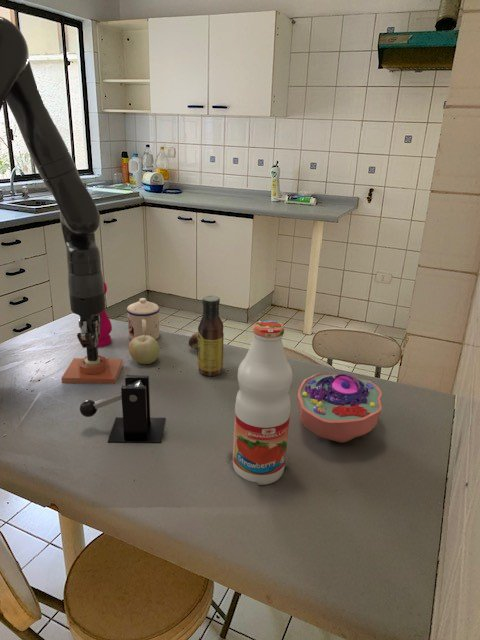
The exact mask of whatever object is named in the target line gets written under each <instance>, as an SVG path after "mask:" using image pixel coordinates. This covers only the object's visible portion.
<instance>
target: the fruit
mask: <svg viewBox="0 0 480 640" xmlns="http://www.w3.org/2000/svg"><path fill="white" fill-rule="evenodd" d="M128 353H129V355H130V357H131V359H133V361H135V362H136V363H138V364H139V365H150V364H152V363H154V362H156V360H157V359H158V357H159V354H160V345H159V342H158V341H157V339H156V340H155V339H154V338H153V337H151V336H149V335H147V334H145V335H142V336H138V337H136V338H134V339H133V340H131V341H130V342H129V345H128Z"/></svg>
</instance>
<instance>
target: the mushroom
mask: <svg viewBox="0 0 480 640" xmlns="http://www.w3.org/2000/svg"><path fill="white" fill-rule="evenodd" d="M188 346H189V347H190V348H192V349H197V350H198V331H197V332H195V333H193V334H192V335H191V336H190V337H189V339H188Z"/></svg>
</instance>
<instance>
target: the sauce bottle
mask: <svg viewBox="0 0 480 640" xmlns="http://www.w3.org/2000/svg"><path fill="white" fill-rule="evenodd" d="M220 301H221V299H220V297H219V296H218V295H214V294H209V295H205V296H203V297H202V301H201V302H202V303H201V304H202V316H201V319H200V321H199V324H198V326H197V332H198V349H197V366H198V371H199V373H200V374H202V375H204V376H207V377H216V376H218V375H219V374H221V373H222V372H223V366H224V335H225V334H224V322H223V320H222V319H221V317H220V310H219V309H220V303H221V302H220Z"/></svg>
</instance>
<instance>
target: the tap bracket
mask: <svg viewBox="0 0 480 640" xmlns="http://www.w3.org/2000/svg"><path fill="white" fill-rule="evenodd" d="M138 380H141V382H142V383H143V385H144V386H127V385H128V384H131V383H133V382H136V381H138ZM124 384H125V385H121V387H120V392H121V395H122V399H121V411H122V416H121V417H120V416H119V417H118V416H117V417H115V419H114V422H113V425H112V427H111V431H110V433H109V436H108V439H107V443H108V444H162V441H163V435H164V428H165V424H166V417H151V395H150V393H151V392H150V391H151V390H150V375H146V374H145V375H137V374H136V375H135V374H126V375H125V377H124Z"/></svg>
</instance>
